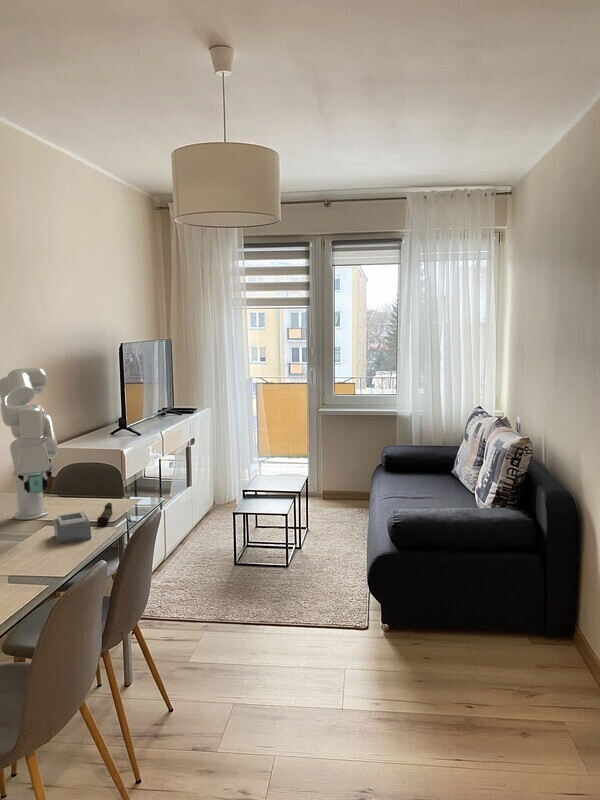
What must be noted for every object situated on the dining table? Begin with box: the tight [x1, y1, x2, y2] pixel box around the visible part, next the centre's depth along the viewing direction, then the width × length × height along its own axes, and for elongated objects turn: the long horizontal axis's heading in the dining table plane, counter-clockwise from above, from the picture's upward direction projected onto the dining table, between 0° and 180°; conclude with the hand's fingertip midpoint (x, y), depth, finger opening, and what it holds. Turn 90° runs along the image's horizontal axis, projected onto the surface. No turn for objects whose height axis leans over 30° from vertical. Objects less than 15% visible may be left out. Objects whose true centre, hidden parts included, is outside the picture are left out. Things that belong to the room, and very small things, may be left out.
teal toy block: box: [28, 473, 45, 494], centre depth 233 cm, size 7×5×6 cm
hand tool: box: [96, 502, 113, 527], centre depth 250 cm, size 19×4×5 cm, turn 5°
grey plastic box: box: [53, 511, 92, 545], centre depth 229 cm, size 11×11×8 cm
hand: (36, 490), depth 235 cm, fingers closed on teal toy block, 5 cm apart
